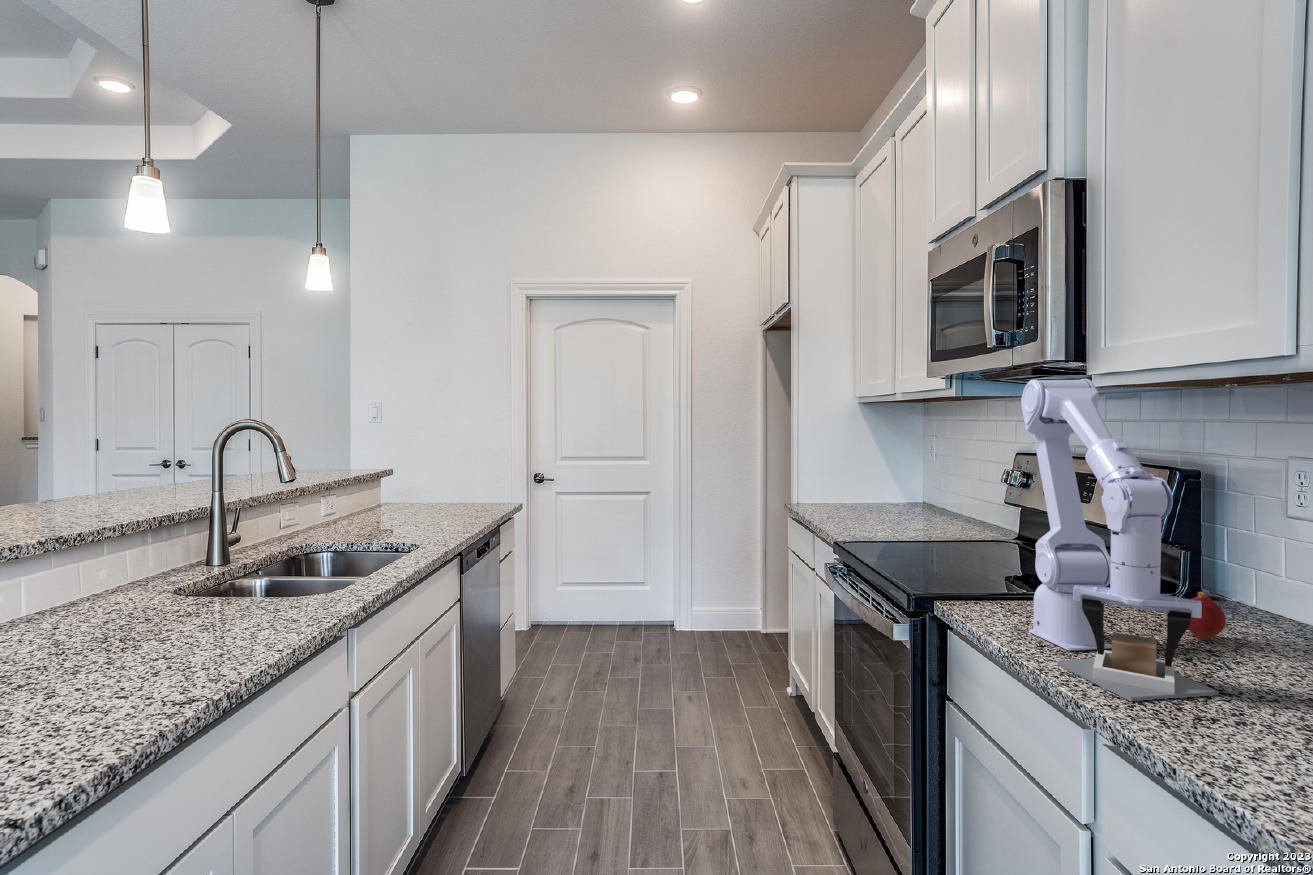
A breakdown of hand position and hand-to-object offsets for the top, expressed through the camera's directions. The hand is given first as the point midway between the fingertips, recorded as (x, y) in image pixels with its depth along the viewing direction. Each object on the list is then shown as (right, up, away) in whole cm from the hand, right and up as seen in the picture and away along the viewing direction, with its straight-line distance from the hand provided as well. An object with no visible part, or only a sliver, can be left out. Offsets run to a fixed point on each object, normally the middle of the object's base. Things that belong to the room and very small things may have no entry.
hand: (1133, 658), depth 93 cm
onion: (+23, -3, +16) cm, 28 cm away
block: (0, -2, 0) cm, 2 cm away
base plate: (0, -3, 0) cm, 3 cm away
